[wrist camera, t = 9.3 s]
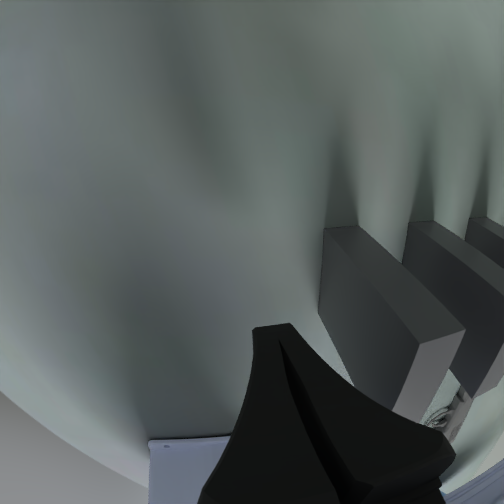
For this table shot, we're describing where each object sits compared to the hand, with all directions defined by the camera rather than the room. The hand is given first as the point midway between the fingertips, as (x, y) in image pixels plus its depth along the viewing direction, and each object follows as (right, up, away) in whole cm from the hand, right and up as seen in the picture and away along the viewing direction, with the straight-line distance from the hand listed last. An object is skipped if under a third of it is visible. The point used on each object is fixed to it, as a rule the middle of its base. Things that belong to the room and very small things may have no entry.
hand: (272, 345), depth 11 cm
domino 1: (+4, +2, +4) cm, 6 cm away
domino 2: (+8, +3, +5) cm, 10 cm away
